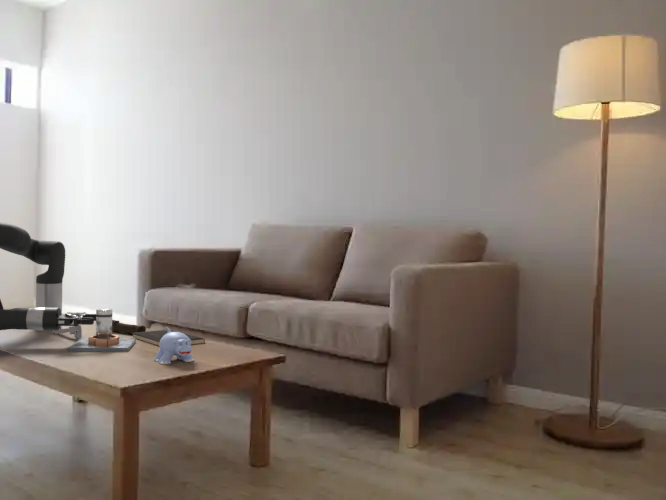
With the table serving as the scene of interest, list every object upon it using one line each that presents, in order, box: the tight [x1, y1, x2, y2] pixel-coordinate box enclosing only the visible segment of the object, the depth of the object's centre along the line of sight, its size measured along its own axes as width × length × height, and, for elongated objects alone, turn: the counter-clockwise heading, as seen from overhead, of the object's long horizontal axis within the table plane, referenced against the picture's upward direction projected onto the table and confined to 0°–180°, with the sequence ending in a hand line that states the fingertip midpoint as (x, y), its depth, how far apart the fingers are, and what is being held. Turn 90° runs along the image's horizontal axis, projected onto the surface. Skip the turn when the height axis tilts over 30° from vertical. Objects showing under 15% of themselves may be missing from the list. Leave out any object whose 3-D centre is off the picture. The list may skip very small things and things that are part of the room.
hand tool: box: [112, 319, 147, 335], centre depth 241 cm, size 19×4×5 cm, turn 59°
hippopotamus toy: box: [153, 326, 196, 365], centre depth 194 cm, size 11×15×10 cm
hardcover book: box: [131, 328, 205, 347], centre depth 229 cm, size 16×23×2 cm
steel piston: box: [95, 308, 113, 339], centre depth 214 cm, size 5×5×11 cm
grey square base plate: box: [68, 334, 137, 353], centre depth 214 cm, size 18×18×3 cm
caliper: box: [52, 325, 83, 341], centre depth 230 cm, size 20×1×6 cm, turn 48°
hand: (96, 319), depth 213 cm, fingers open, 8 cm apart
